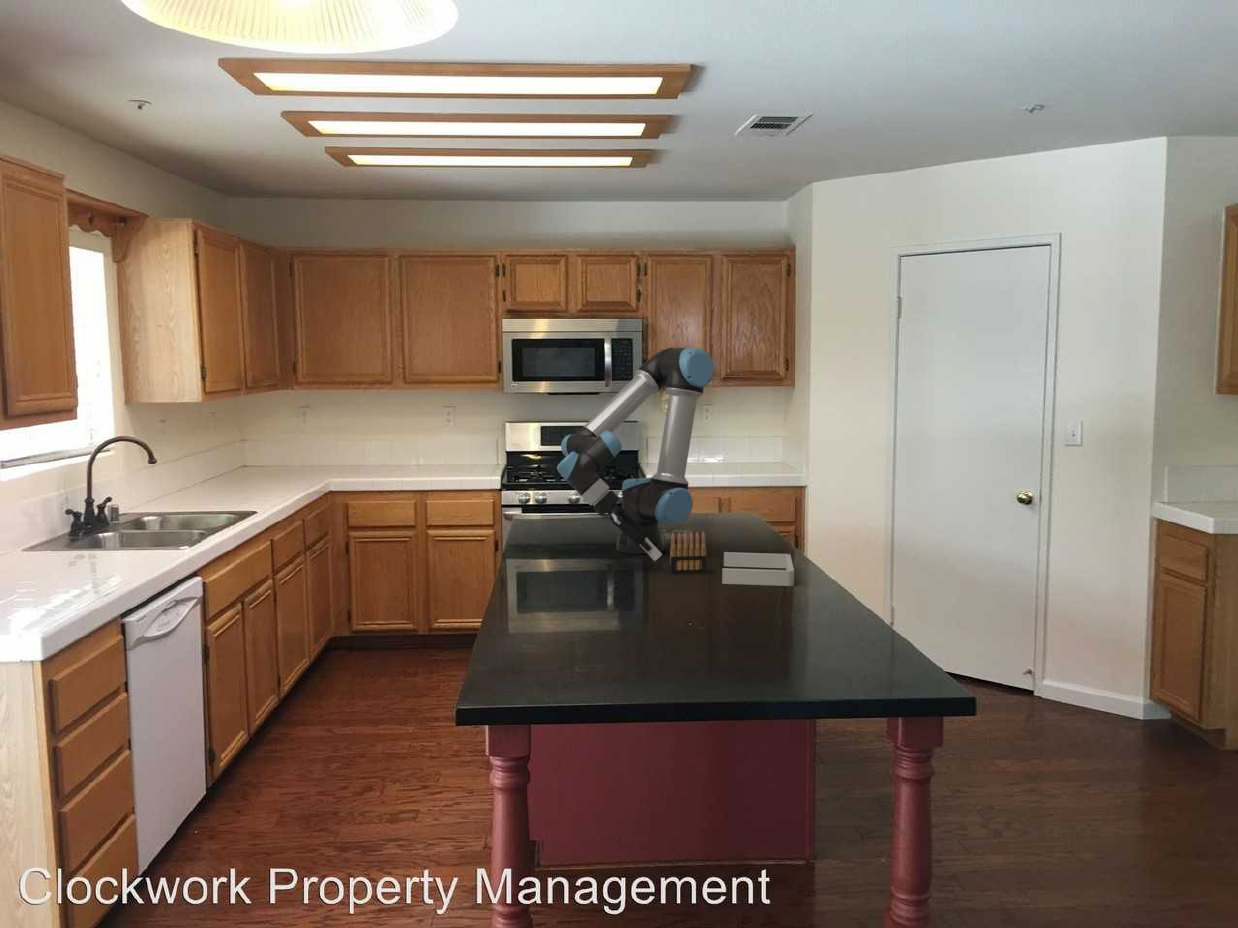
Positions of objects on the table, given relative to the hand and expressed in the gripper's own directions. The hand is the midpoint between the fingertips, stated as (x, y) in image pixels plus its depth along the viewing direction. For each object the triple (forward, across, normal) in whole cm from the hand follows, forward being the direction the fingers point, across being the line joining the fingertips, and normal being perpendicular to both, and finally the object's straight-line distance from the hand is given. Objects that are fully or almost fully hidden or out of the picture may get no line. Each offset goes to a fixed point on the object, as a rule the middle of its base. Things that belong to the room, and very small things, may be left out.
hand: (658, 557), depth 264 cm
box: (+22, 0, +16) cm, 28 cm away
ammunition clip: (+9, 0, +3) cm, 10 cm away
